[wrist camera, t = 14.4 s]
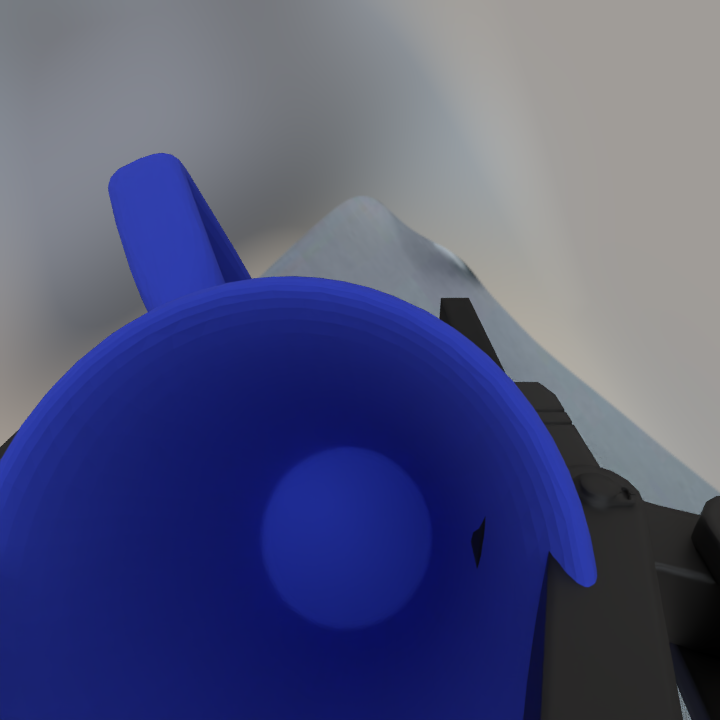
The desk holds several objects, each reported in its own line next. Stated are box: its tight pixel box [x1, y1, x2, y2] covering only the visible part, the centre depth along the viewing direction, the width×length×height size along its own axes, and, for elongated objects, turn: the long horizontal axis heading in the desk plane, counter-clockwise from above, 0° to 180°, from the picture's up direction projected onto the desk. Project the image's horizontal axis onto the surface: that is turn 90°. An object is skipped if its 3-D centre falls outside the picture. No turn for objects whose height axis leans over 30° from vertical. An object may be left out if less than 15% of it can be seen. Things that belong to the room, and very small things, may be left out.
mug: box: [0, 153, 597, 720], centre depth 11 cm, size 8×12×10 cm
